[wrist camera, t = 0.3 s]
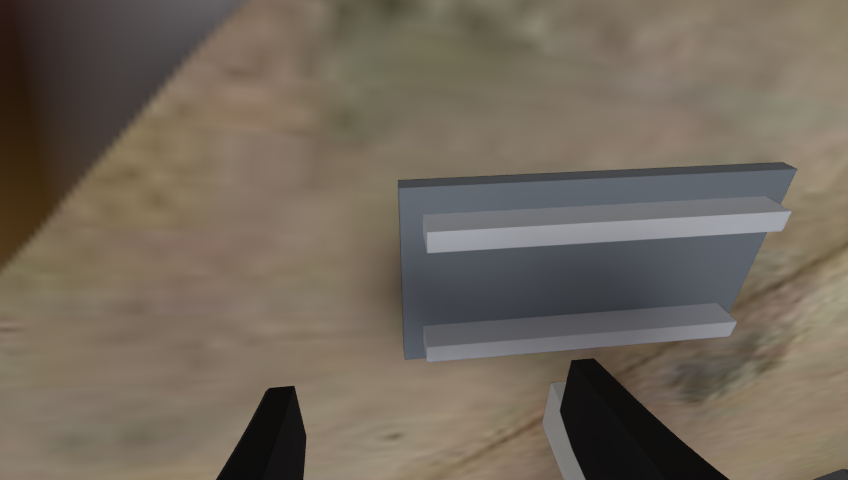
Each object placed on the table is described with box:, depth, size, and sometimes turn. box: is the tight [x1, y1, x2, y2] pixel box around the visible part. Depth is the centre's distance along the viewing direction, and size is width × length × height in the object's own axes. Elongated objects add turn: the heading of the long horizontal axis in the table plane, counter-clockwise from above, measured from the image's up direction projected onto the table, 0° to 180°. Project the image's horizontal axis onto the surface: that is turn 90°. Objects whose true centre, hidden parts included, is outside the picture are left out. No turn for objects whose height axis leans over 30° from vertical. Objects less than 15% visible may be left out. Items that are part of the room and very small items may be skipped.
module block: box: [542, 381, 585, 480], centre depth 26 cm, size 4×4×6 cm
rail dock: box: [398, 162, 797, 362], centre depth 21 cm, size 10×18×2 cm, turn 90°
